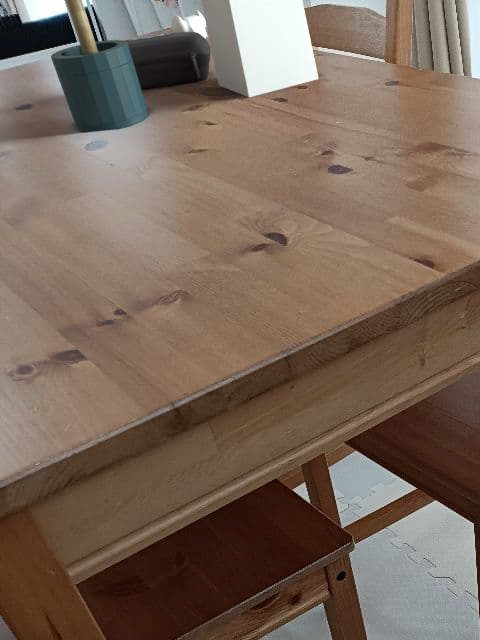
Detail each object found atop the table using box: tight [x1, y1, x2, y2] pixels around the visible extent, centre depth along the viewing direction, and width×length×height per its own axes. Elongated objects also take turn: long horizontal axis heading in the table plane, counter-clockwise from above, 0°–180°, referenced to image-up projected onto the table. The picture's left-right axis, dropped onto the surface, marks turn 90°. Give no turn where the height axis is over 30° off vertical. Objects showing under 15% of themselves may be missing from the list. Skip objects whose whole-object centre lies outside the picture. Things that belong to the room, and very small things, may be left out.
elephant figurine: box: [170, 9, 209, 40], centre depth 144 cm, size 7×8×6 cm
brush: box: [64, 0, 98, 55], centre depth 105 cm, size 4×4×20 cm
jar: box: [50, 39, 149, 133], centre depth 109 cm, size 10×10×9 cm
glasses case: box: [124, 32, 212, 90], centre depth 125 cm, size 18×10×8 cm, turn 95°
